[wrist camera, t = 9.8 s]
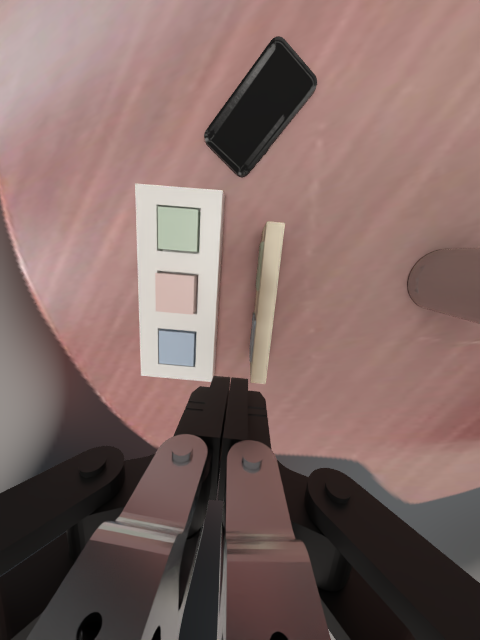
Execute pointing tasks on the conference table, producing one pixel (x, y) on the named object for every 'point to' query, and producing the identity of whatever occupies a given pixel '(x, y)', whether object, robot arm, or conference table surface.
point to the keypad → (182, 263)
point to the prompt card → (265, 299)
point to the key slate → (177, 347)
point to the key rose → (176, 292)
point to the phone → (260, 107)
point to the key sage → (178, 229)
